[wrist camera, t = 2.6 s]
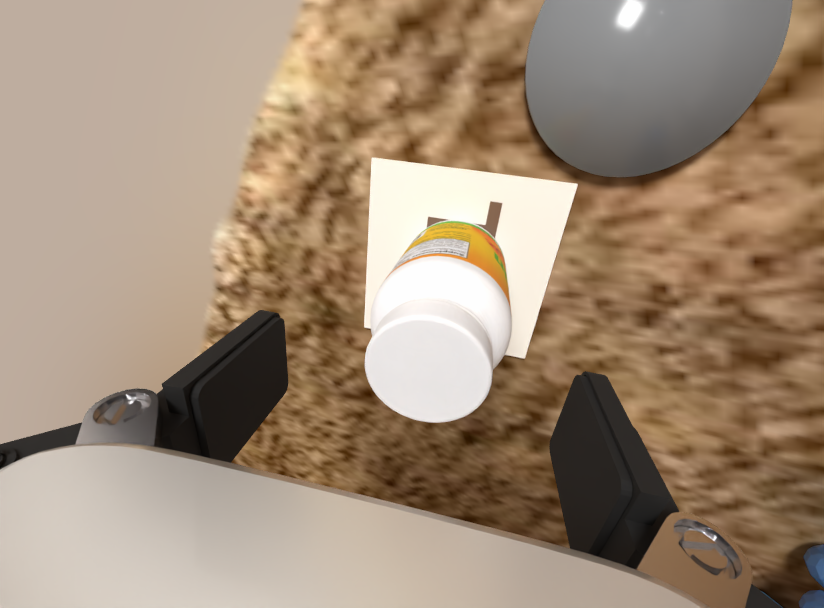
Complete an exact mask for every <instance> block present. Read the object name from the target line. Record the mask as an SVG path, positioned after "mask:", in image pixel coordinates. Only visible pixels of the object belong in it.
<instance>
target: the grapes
mask: <svg viewBox="0 0 824 608" xmlns="http://www.w3.org/2000/svg"><path fill="white" fill-rule="evenodd" d="M804 560H805V563H806V566H807V568H808V570H809V572H810V575H811V576H812V577H813V578H814V579H815V580H816V581H817V582H818V583H819V584H820V585H821V586H822V587H823V588H824V544H821V545H816V546H813V547H811V548H809V549H808V550H807V551H806V553H805V555H804ZM799 605H800V608H824V591H822V590H814V591H808V592H807V593H805V594H803V596H802V597H801V599H800V601H799Z"/></svg>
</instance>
